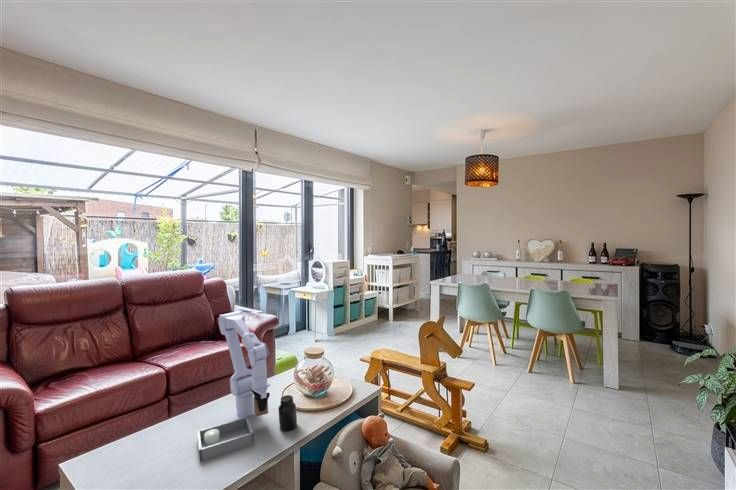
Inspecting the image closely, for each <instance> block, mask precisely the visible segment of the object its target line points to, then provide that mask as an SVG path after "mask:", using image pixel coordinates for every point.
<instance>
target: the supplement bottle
mask: <svg viewBox="0 0 736 490" xmlns="http://www.w3.org/2000/svg"><path fill="white" fill-rule="evenodd" d="M297 420H298V417H297V404H296V403H295V402H294V397H293V396H292V395H290V394H288V395H284V396H281V397H280V404H279V406H278V421H279V422H278V423H279V424H278V425H279V429H280V430H281V431H282V432H291V431H293V430H295V429H296V428H297V426H298V422H297Z"/></svg>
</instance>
